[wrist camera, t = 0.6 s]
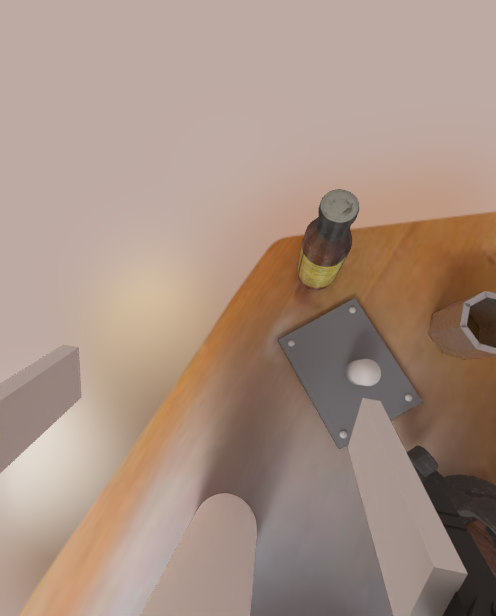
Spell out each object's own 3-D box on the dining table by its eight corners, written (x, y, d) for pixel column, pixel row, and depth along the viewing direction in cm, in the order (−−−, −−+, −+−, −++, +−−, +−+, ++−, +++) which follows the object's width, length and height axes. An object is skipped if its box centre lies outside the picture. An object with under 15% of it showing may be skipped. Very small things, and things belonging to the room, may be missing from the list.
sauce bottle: (338, 286, 50) (382, 230, 30) (301, 295, 50) (321, 244, 31) (327, 250, 51) (362, 175, 32) (291, 258, 51) (304, 189, 32)
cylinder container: (195, 490, 45) (55, 706, 16) (259, 496, 44) (236, 738, 15) (188, 563, 43) (13, 968, 14) (255, 571, 42) (219, 1021, 13)
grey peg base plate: (419, 401, 45) (441, 405, 39) (338, 447, 45) (348, 458, 39) (353, 299, 49) (364, 289, 43) (277, 340, 49) (278, 335, 43)
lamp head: (451, 366, 46) (488, 365, 38) (419, 321, 48) (448, 311, 40) (517, 329, 46) (568, 320, 39) (484, 285, 48) (525, 268, 40)
